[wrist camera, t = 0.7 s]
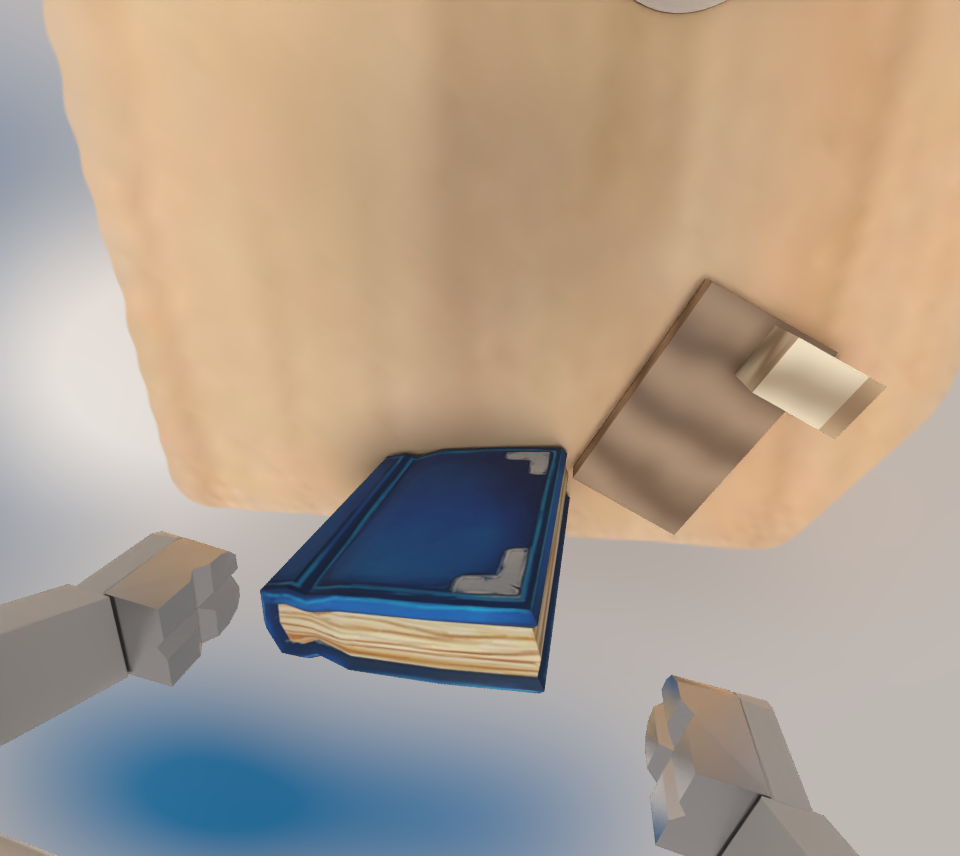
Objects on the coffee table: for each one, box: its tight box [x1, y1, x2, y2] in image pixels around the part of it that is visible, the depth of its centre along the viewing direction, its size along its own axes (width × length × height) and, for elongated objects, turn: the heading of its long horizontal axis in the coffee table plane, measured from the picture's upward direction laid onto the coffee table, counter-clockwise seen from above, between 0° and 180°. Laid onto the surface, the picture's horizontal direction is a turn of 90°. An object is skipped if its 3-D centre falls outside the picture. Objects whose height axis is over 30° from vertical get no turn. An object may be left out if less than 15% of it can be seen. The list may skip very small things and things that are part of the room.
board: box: [573, 279, 837, 534], centre depth 45 cm, size 22×12×2 cm, turn 153°
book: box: [260, 448, 570, 693], centre depth 43 cm, size 22×7×25 cm, turn 97°
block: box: [735, 325, 886, 439], centre depth 40 cm, size 5×8×7 cm, turn 63°
